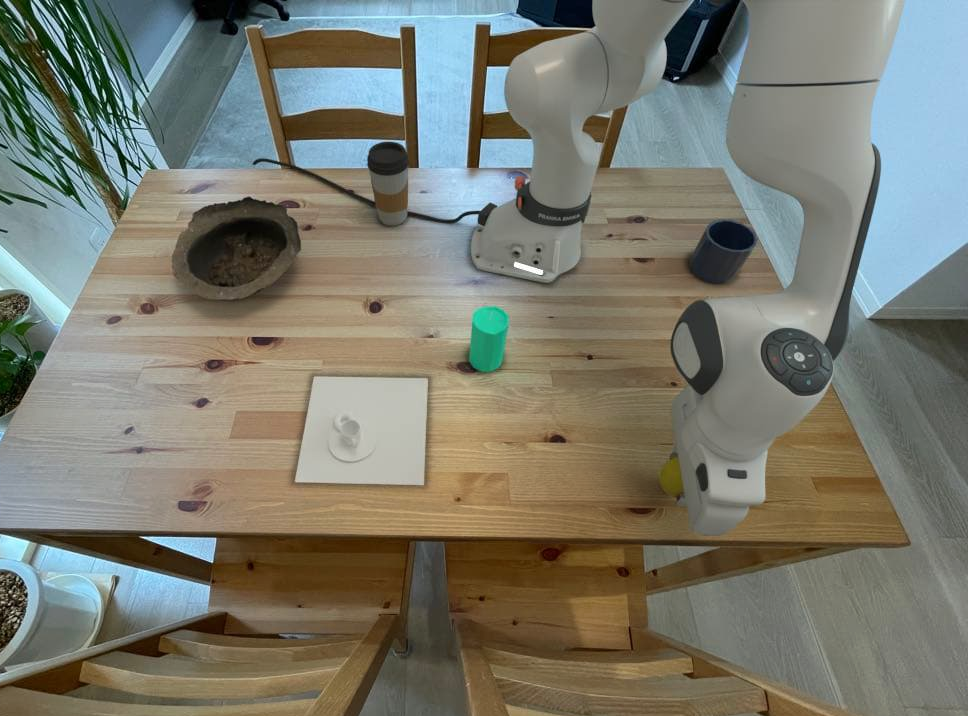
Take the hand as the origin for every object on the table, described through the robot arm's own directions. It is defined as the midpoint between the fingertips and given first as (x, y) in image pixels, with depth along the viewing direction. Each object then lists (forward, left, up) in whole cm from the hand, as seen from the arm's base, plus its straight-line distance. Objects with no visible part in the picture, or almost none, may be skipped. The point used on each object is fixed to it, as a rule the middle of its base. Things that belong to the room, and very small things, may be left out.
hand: (678, 480), depth 75 cm
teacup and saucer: (-48, +6, -3) cm, 48 cm away
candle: (-29, +22, -3) cm, 37 cm away
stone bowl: (-78, +39, -3) cm, 87 cm away
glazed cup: (+15, +49, -3) cm, 51 cm away
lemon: (0, 0, -3) cm, 3 cm away
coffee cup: (-51, +59, -3) cm, 78 cm away
